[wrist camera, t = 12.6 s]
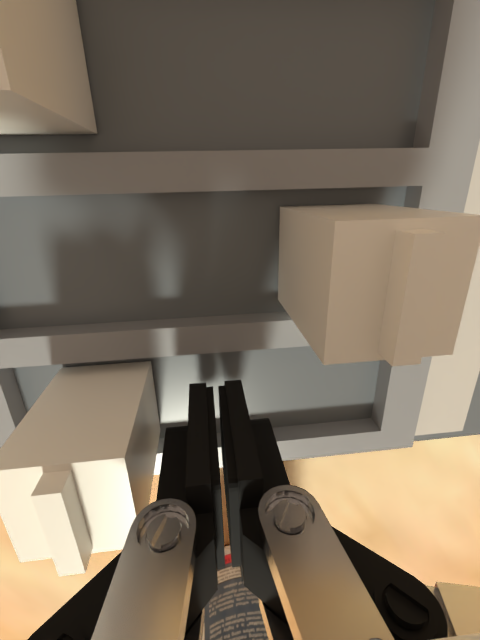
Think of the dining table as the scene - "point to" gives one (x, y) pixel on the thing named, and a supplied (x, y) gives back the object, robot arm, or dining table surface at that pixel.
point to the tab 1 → (43, 70)
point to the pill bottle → (233, 608)
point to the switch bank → (239, 208)
